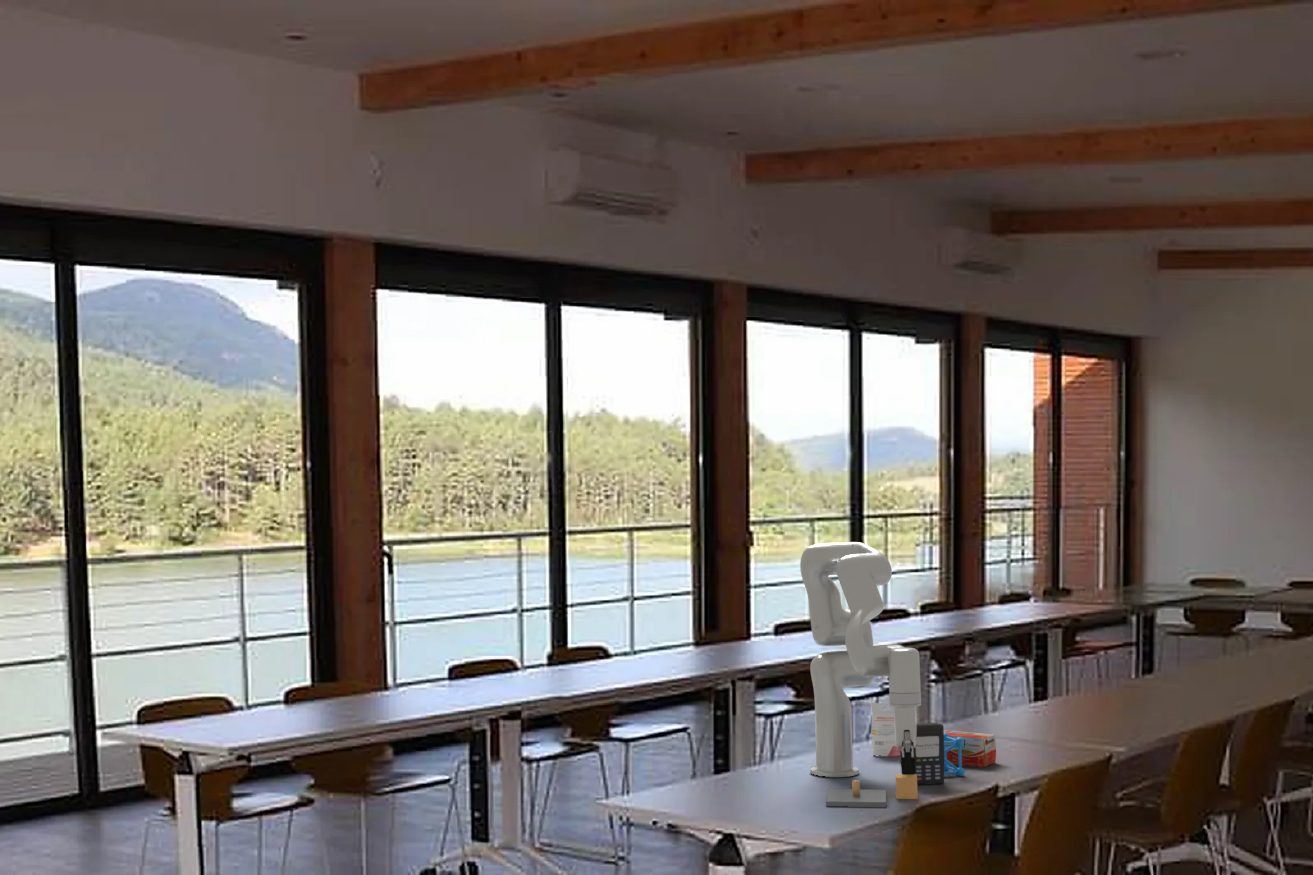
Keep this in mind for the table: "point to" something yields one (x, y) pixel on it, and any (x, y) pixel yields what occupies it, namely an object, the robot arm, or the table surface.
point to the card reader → (929, 753)
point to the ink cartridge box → (883, 731)
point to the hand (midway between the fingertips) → (908, 770)
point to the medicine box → (972, 749)
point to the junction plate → (856, 797)
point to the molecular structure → (959, 743)
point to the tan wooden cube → (906, 786)
